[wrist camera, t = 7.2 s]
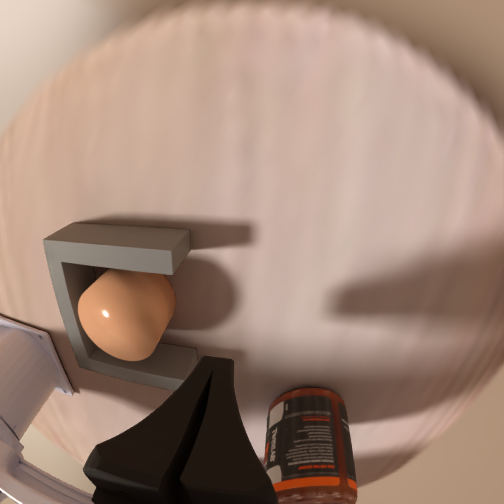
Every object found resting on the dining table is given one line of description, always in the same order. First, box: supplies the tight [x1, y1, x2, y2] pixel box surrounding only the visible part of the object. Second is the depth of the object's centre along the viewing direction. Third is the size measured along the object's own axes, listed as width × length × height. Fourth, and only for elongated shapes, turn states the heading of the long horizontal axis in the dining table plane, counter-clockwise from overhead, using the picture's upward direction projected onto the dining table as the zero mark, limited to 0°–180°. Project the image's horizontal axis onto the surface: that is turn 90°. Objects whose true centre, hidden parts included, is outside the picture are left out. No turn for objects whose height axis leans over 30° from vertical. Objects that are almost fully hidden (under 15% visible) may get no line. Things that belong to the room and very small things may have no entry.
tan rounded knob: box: [78, 268, 176, 361], centre depth 16 cm, size 5×5×4 cm
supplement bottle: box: [264, 388, 357, 504], centre depth 15 cm, size 6×6×11 cm
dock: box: [43, 223, 197, 391], centre depth 16 cm, size 8×9×3 cm
